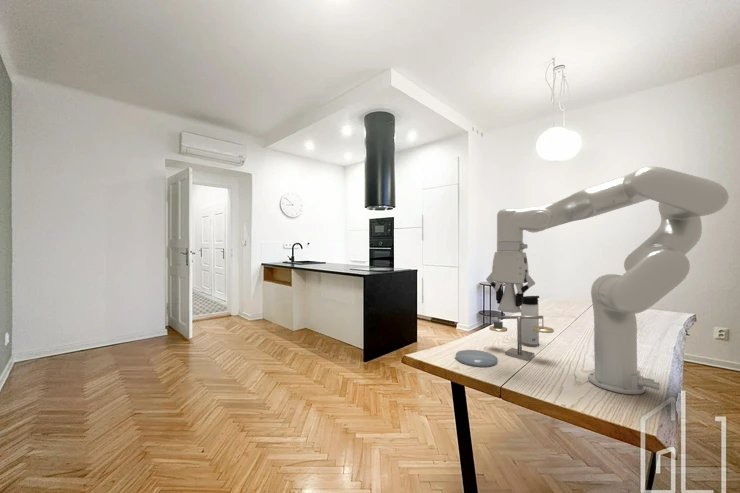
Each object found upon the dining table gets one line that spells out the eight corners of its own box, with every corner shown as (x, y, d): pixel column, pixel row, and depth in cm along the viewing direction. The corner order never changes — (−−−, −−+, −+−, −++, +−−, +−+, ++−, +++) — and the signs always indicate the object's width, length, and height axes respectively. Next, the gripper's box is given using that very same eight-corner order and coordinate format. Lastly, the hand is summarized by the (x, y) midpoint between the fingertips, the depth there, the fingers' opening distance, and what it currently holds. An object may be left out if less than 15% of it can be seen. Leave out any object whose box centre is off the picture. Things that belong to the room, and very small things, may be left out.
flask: (516, 309, 98) (516, 278, 98) (526, 313, 91) (526, 281, 91) (493, 308, 99) (494, 278, 99) (501, 313, 92) (501, 281, 92)
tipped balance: (556, 361, 103) (556, 315, 103) (550, 366, 99) (549, 318, 99) (494, 346, 119) (493, 306, 119) (486, 350, 115) (486, 309, 115)
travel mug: (538, 348, 117) (537, 297, 117) (520, 344, 121) (519, 295, 121) (540, 343, 122) (540, 295, 122) (523, 341, 126) (522, 293, 126)
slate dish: (504, 359, 105) (504, 356, 105) (485, 370, 96) (485, 367, 96) (468, 349, 116) (468, 347, 116) (448, 359, 106) (448, 356, 106)
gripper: (543, 248, 92) (542, 306, 92) (488, 247, 104) (488, 299, 104) (534, 248, 86) (534, 310, 86) (478, 247, 99) (478, 302, 99)
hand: (509, 303), depth 95 cm, fingers closed on flask, 5 cm apart
